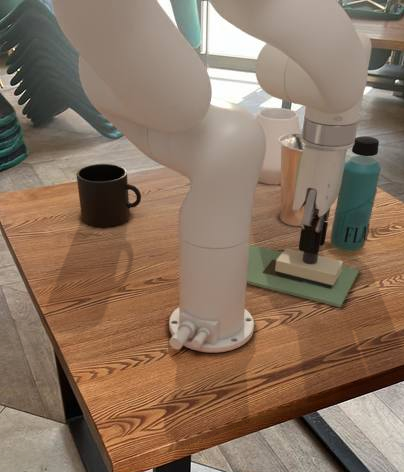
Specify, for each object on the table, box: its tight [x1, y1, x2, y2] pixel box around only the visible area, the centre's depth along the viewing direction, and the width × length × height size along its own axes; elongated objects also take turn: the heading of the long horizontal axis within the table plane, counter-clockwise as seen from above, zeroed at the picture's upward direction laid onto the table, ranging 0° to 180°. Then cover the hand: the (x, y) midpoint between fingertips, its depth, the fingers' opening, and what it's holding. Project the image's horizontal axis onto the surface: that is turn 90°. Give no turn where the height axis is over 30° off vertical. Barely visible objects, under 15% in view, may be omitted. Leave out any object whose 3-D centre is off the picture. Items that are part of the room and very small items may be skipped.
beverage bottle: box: [329, 135, 382, 252], centre depth 98 cm, size 6×7×20 cm
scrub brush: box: [275, 215, 344, 288], centre depth 93 cm, size 5×10×11 cm, turn 64°
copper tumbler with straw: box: [279, 132, 305, 227], centre depth 105 cm, size 11×11×30 cm
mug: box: [76, 163, 142, 228], centre depth 111 cm, size 9×12×9 cm
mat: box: [247, 244, 360, 308], centre depth 97 cm, size 12×20×1 cm, turn 65°
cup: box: [255, 107, 301, 186], centre depth 127 cm, size 13×13×14 cm
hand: (311, 246), depth 93 cm, fingers closed on scrub brush, 2 cm apart
